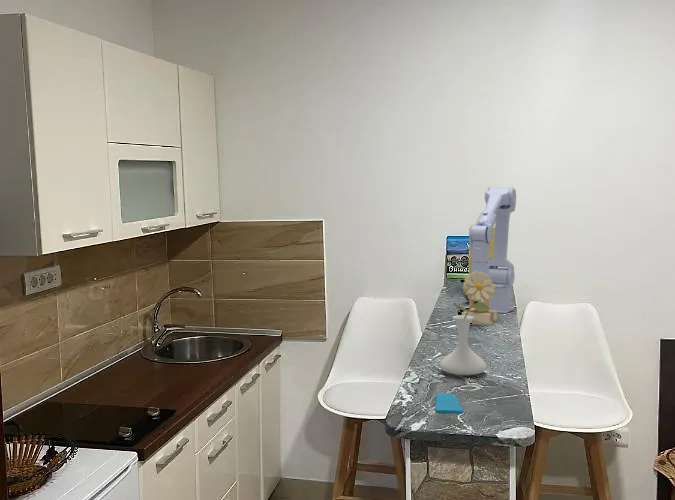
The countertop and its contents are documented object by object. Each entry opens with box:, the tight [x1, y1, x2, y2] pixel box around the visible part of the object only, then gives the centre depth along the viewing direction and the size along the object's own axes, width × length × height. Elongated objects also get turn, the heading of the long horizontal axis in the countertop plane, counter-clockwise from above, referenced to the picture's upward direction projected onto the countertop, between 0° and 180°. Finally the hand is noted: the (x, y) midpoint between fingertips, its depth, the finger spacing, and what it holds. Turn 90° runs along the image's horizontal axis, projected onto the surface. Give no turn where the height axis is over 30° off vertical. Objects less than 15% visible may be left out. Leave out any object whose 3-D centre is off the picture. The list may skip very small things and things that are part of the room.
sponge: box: [434, 392, 465, 414], centre depth 149 cm, size 2×12×6 cm
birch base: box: [461, 308, 498, 327], centre depth 234 cm, size 9×9×4 cm
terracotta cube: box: [468, 299, 489, 309], centre depth 233 cm, size 5×5×5 cm
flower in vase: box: [438, 271, 495, 376], centre depth 171 cm, size 13×11×25 cm
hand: (479, 302), depth 233 cm, fingers closed on terracotta cube, 5 cm apart
